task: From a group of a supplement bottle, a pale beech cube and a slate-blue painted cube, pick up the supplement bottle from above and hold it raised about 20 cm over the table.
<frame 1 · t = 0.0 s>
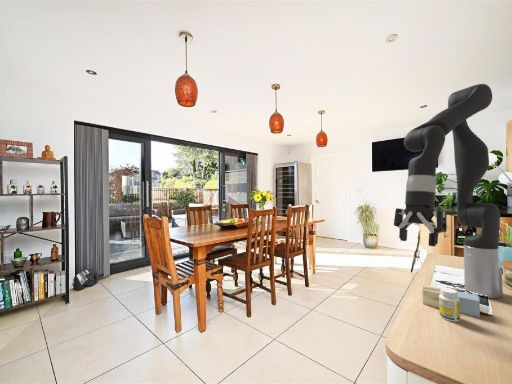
hand: (416, 243, 72), 22 cm above the counter, tool pointing down, fingers open, 8 cm apart
slate cube: (468, 311, 73), on the counter
beech cube: (432, 303, 79), on the counter
supplement bottle: (449, 318, 70), on the counter
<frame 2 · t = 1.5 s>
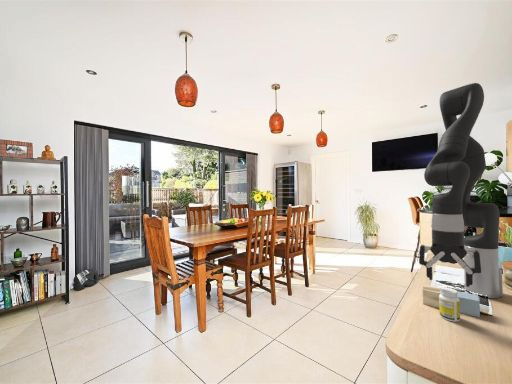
hand: (448, 282, 70), 11 cm above the counter, tool pointing down, fingers open, 8 cm apart
nothing on the counter moved.
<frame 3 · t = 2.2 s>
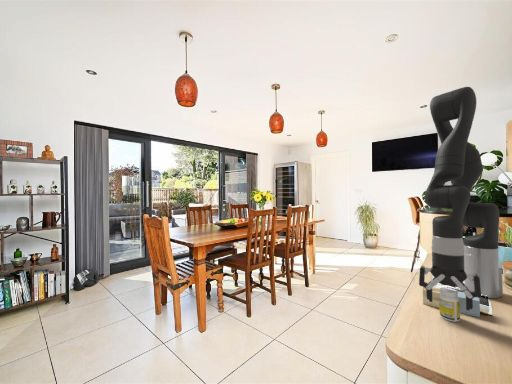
hand: (448, 305, 70), 4 cm above the counter, tool pointing down, fingers open, 8 cm apart
nothing on the counter moved.
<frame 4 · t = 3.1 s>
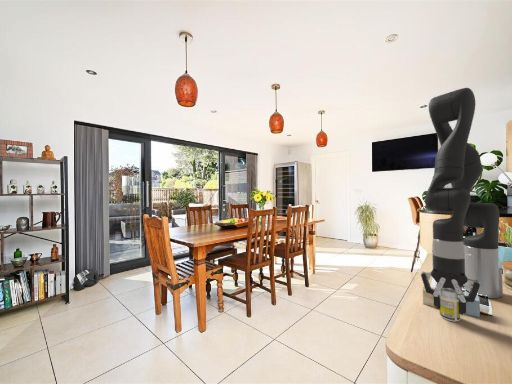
hand: (449, 310, 70), 2 cm above the counter, tool pointing down, fingers closed on supplement bottle, 4 cm apart
supplement bottle: (449, 318, 70), on the counter, touching gripper
everything else where it was.
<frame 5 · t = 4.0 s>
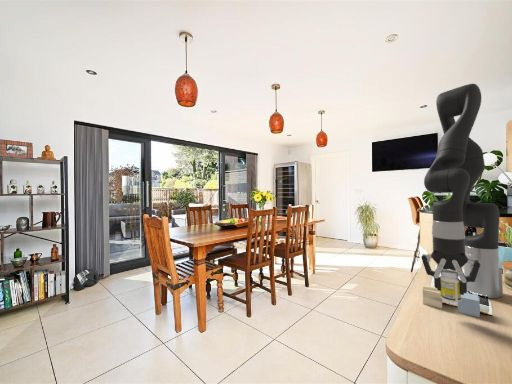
hand: (450, 291, 70), 8 cm above the counter, tool pointing down, fingers closed on supplement bottle, 4 cm apart
supplement bottle: (450, 299, 70), point 5 cm above the counter, touching gripper
everything else where it was.
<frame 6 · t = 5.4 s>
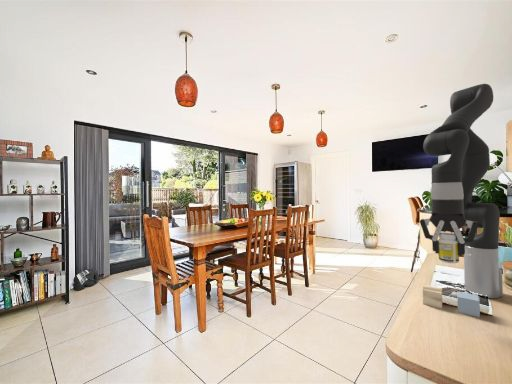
hand: (448, 254, 70), 19 cm above the counter, tool pointing down, fingers closed on supplement bottle, 4 cm apart
supplement bottle: (448, 262, 70), point 17 cm above the counter, touching gripper
everything else where it was.
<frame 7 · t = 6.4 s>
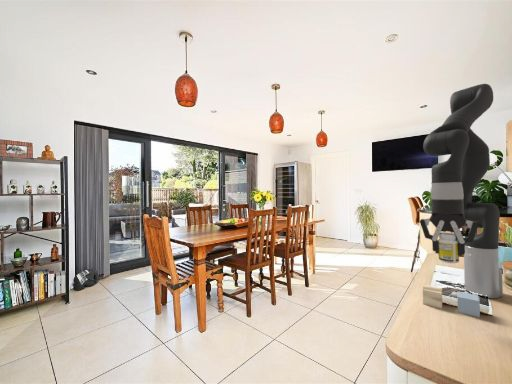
hand: (448, 253, 70), 19 cm above the counter, tool pointing down, fingers closed on supplement bottle, 4 cm apart
supplement bottle: (448, 261, 70), point 17 cm above the counter, touching gripper
everything else where it was.
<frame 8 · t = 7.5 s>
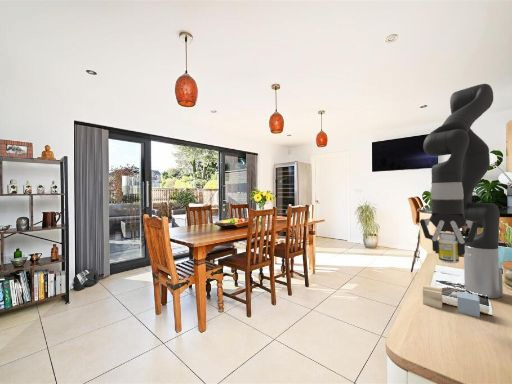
hand: (448, 253, 70), 19 cm above the counter, tool pointing down, fingers closed on supplement bottle, 4 cm apart
supplement bottle: (448, 261, 70), point 17 cm above the counter, touching gripper
everything else where it was.
at the end: supplement bottle point 16.8 cm above the counter; beech cube moved 0.1 cm from its start; slate cube moved 0.1 cm from its start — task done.
